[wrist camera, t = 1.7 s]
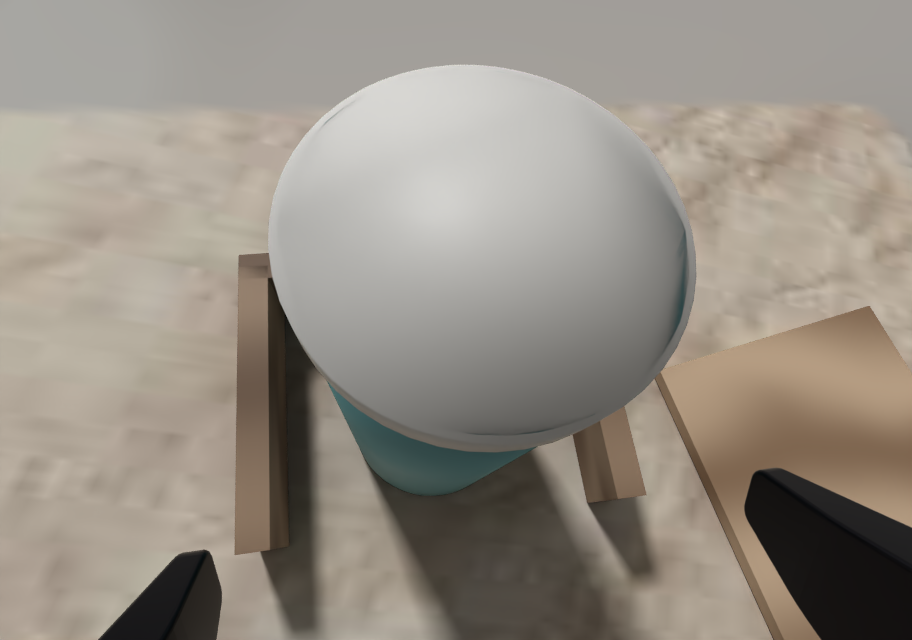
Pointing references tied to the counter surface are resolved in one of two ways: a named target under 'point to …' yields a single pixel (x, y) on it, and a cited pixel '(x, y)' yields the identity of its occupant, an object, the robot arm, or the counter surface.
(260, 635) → the counter surface
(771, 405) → the mat
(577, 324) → the tin
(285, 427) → the cubby
